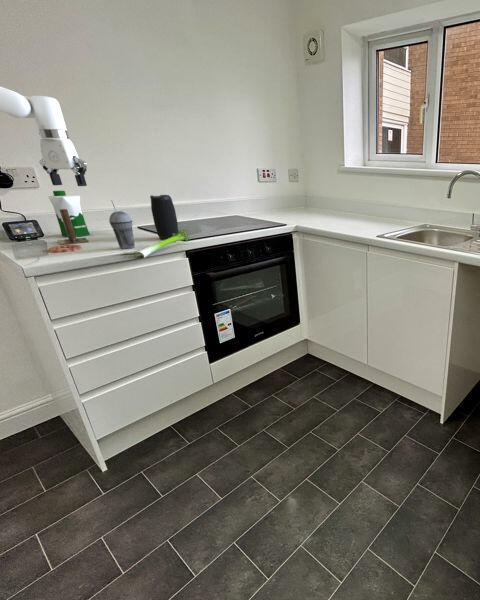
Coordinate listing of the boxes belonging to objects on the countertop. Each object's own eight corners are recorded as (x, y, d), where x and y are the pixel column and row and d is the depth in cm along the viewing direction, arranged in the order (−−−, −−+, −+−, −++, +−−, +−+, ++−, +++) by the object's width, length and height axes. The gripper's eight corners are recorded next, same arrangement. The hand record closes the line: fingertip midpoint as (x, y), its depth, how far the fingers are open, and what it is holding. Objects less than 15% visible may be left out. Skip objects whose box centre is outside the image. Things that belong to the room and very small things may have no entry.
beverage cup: (142, 250, 143) (130, 199, 136) (122, 253, 137) (108, 201, 130) (133, 247, 147) (121, 198, 139) (113, 250, 141) (99, 199, 133)
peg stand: (61, 247, 143) (49, 211, 138) (58, 243, 149) (47, 208, 143) (89, 244, 149) (79, 209, 144) (86, 240, 155) (76, 207, 149)
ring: (49, 256, 130) (47, 251, 129) (47, 251, 136) (45, 246, 136) (84, 252, 137) (82, 247, 136) (80, 247, 143) (79, 243, 142)
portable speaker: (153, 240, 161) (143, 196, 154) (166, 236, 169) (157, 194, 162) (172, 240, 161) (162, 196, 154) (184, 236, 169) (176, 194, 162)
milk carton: (77, 233, 169) (64, 190, 161) (93, 234, 167) (81, 191, 160) (58, 236, 161) (43, 191, 153) (75, 237, 159) (61, 192, 152)
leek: (132, 261, 133) (179, 239, 160) (150, 264, 134) (194, 242, 161) (129, 246, 131) (177, 226, 158) (148, 249, 131) (193, 229, 158)
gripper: (20, 134, 122) (38, 185, 128) (68, 135, 121) (83, 187, 128) (42, 135, 129) (57, 184, 135) (87, 137, 128) (100, 185, 135)
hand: (70, 185), depth 132 cm, fingers open, 9 cm apart
